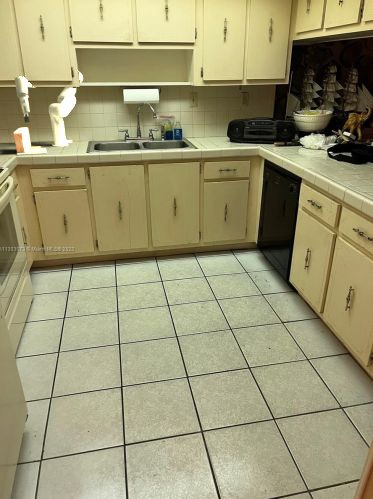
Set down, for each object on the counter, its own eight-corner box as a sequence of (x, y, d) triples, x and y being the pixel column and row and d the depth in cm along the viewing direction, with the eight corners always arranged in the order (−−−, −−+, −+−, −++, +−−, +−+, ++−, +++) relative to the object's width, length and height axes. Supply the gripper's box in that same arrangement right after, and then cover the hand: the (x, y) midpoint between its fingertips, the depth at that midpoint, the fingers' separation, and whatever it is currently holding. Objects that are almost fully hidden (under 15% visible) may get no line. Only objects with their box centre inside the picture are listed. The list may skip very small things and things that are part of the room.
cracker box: (31, 146, 282) (25, 152, 264) (23, 146, 281) (16, 153, 263) (28, 127, 275) (21, 132, 257) (20, 127, 274) (12, 132, 256)
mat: (45, 148, 284) (45, 146, 284) (47, 153, 263) (46, 151, 263) (17, 149, 277) (17, 147, 277) (16, 155, 257) (16, 153, 256)
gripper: (28, 95, 259) (32, 123, 267) (28, 94, 272) (32, 121, 280) (17, 95, 257) (21, 123, 265) (17, 95, 269) (21, 121, 277)
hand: (27, 122), depth 272 cm, fingers closed
